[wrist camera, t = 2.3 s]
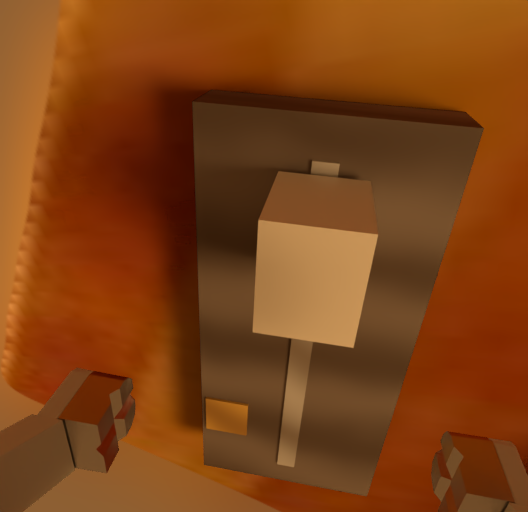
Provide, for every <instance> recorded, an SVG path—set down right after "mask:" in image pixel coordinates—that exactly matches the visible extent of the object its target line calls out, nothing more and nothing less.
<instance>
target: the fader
mask: <svg viewBox="0 0 528 512" xmlns="http://www.w3.org/2000/svg"><path fill="white" fill-rule="evenodd" d="M377 238H378V230H377V222H376V215H375V208H374V201H373V193H372V186H371V181H365V180H355V179H346V178H337V177H328V176H319V175H309V174H300V173H291V172H282V171H278V174H277V176H276V178H275V181H274V183H273V186H272V188H271V191H270V193H269V195H268V198H267V200H266V203H265V205H264V208H263V210H262V212H261V215H260V217H259V220H258V237H257V256H256V276H255V295H254V314H253V332H254V333H260V334H267V335H273V336H280V337H286V338H293V339H299V340H306V341H312V342H319V343H325V344H331V345H338V346H344V347H351V348H354V343H355V339H356V334H357V329H358V325H359V320H360V316H361V311H362V307H363V302H364V297H365V293H366V288H367V284H368V279H369V275H370V270H371V265H372V261H373V256H374V252H375V247H376V243H377Z"/></svg>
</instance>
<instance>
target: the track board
mask: <svg viewBox="0 0 528 512" xmlns="http://www.w3.org/2000/svg"><path fill="white" fill-rule="evenodd" d="M192 108H193V138H194V169H195V200H196V230H197V261H198V292H199V322H200V353H201V384H202V414H203V445H204V465H208V466H213V467H218V468H224V469H229V470H234V471H239V472H244V473H249V474H255V475H260V476H265V477H270V478H275V479H280V480H286V481H291V482H296V483H301V484H306V485H311V486H316V487H322V488H327V489H332V490H337V491H342V492H347V493H353V494H358V495H363V496H367V494H368V491H369V488H370V485H371V481H372V478H373V475H374V472H375V469H376V466H377V463H378V459H379V456H380V453H381V450H382V447H383V444H384V441H385V437H386V434H387V431H388V428H389V425H390V422H391V419H392V415H393V412H394V409H395V406H396V403H397V400H398V397H399V393H400V390H401V387H402V384H403V381H404V378H405V375H406V371H407V368H408V365H409V362H410V359H411V356H412V353H413V349H414V346H415V343H416V340H417V337H418V334H419V331H420V327H421V324H422V321H423V318H424V315H425V312H426V309H427V305H428V302H429V299H430V296H431V293H432V290H433V287H434V283H435V280H436V277H437V274H438V271H439V268H440V265H441V261H442V258H443V255H444V252H445V249H446V246H447V243H448V239H449V236H450V233H451V230H452V227H453V224H454V220H455V217H456V214H457V211H458V208H459V205H460V202H461V198H462V195H463V192H464V189H465V186H466V183H467V180H468V176H469V173H470V170H471V167H472V164H473V161H474V158H475V154H476V151H477V148H478V145H479V142H480V139H481V136H482V132H483V129H484V128H483V127H482V126H481V125H479V124H478V123H477V122H476V121H475V120H474V119H473V118H472V117H470V116H469V115H468V114H467V113H466V112H457V111H446V110H434V109H423V108H412V107H400V106H389V105H378V104H366V103H355V102H344V101H332V100H321V99H310V98H298V97H287V96H276V95H264V94H253V93H242V92H230V91H219V90H210V91H209V92H207V93H205V94H204V95H202V96H200V97H199V98H197V99H196V100H194V101H192ZM278 171H282V172H291V173H300V174H309V175H319V176H328V177H337V178H346V179H355V180H365V181H371V186H372V193H373V201H374V208H375V215H376V222H377V230H378V238H377V243H376V247H375V252H374V256H373V261H372V265H371V270H370V275H369V279H368V284H367V288H366V293H365V297H364V302H363V307H362V311H361V316H360V320H359V325H358V329H357V334H356V339H355V343H354V348H351V347H344V346H338V345H331V344H325V343H319V342H312V341H306V340H299V339H293V338H286V337H280V336H273V335H267V334H260V333H254V332H253V314H254V295H255V276H256V256H257V237H258V220H259V217H260V215H261V212H262V210H263V208H264V205H265V203H266V200H267V198H268V195H269V193H270V191H271V188H272V186H273V183H274V181H275V178H276V176H277V174H278Z"/></svg>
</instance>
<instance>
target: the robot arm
mask: <svg viewBox="0 0 528 512" xmlns="http://www.w3.org/2000/svg"><path fill="white" fill-rule="evenodd" d="M132 389H133V384H132V379H131V378H127V377H122V376H117V375H112V374H107V373H102V372H97V371H91V370H86V369H81V368H76V369H74V370H73V371H71V372H70V374H69V375H68V376H67V377H66V379H65V380H64V381H63V383H62V384H61V385H60V386H59V388H58V389H57V390H56V392H55V393H54V394H53V395H52V397H51V398H50V399H49V401H48V402H47V403H46V404H45V406H44V407H43V408H42V410H41V411H40V412H39V414H38V415H33V414H32V415H30V416H28V417H26V418H24V419H22V420H21V421H19V422H17V423H15V424H13V425H11V426H10V427H8V428H6V429H4V430H2V431H0V512H23V511H24V510H25V509H27V508H28V507H29V506H30V505H32V504H33V503H34V502H36V501H37V500H38V499H39V498H40V497H42V496H43V495H44V494H46V493H47V492H48V491H49V490H51V489H52V488H53V487H54V486H56V485H57V484H58V483H59V482H61V481H62V480H63V479H64V478H66V477H67V476H68V475H69V474H71V473H72V472H73V471H74V470H75V468H78V469H84V470H90V471H96V472H102V473H107V472H108V470H109V468H110V466H111V464H112V462H113V460H114V458H115V457H116V455H117V453H118V451H119V448H118V441H119V440H120V439H122V438H123V437H125V436H126V435H127V433H128V431H129V429H130V427H131V425H132V422H133V418H134V415H135V399H134V398H133V397H132V396H131V395H130V393H131V391H132ZM441 445H442V449H441V450H440V451H438V452H436V453H435V456H434V459H433V462H432V472H431V474H432V484H433V490H434V493H435V494H436V495H437V497H438V498H439V499H440V500H441V504H440V506H439V509H438V512H528V475H527V473H526V470H525V468H524V465H523V463H522V461H521V458H520V456H519V454H518V451H517V449H516V446H515V445H514V444H513V443H512V442H509V441H503V440H497V439H491V438H487V437H480V436H474V435H467V434H461V433H455V432H448V431H447V432H445V433H444V434H443V436H442V439H441Z"/></svg>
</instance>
